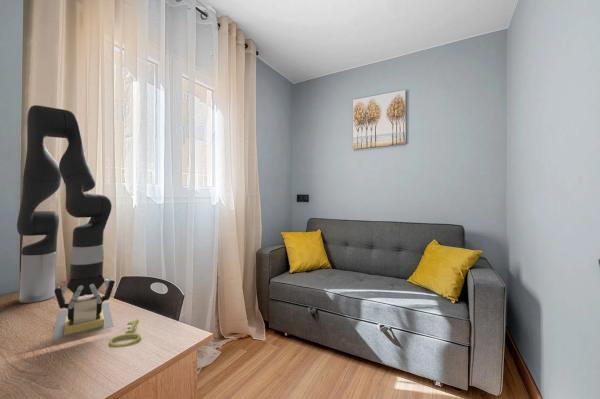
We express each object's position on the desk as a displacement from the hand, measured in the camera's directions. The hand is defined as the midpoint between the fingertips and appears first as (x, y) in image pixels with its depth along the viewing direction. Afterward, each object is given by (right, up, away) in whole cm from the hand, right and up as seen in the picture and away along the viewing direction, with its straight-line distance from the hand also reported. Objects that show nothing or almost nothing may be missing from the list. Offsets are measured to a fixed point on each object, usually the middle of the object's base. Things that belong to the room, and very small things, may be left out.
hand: (84, 317), depth 75 cm
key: (+15, -4, -3) cm, 16 cm away
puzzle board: (-3, -3, +4) cm, 6 cm away
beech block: (0, 0, 0) cm, 0 cm away
